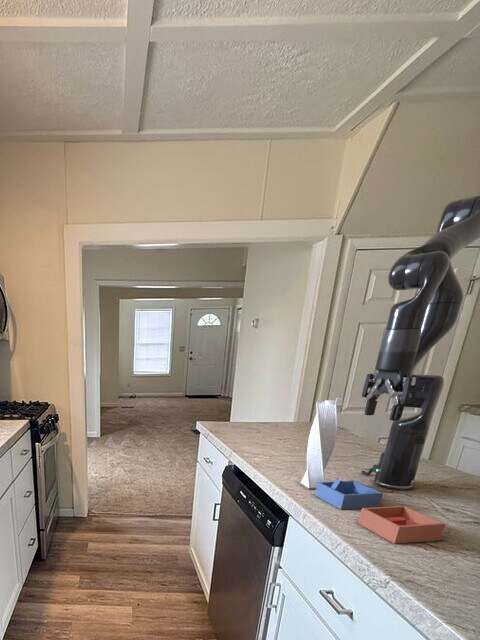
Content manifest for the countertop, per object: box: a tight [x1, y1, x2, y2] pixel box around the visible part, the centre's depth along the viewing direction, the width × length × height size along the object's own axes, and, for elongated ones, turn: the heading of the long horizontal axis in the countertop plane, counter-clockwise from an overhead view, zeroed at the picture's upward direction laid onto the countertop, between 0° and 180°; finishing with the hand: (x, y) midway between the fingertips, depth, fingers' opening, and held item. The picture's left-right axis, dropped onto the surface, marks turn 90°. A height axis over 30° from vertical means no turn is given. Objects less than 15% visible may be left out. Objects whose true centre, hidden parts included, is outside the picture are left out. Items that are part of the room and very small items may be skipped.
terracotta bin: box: [357, 505, 447, 544], centre depth 95 cm, size 11×11×4 cm
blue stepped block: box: [331, 478, 360, 494], centre depth 113 cm, size 9×4×3 cm, turn 97°
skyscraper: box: [298, 395, 343, 490], centre depth 122 cm, size 8×8×28 cm
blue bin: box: [314, 480, 384, 510], centre depth 114 cm, size 11×11×4 cm
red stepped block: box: [385, 517, 417, 526], centre depth 95 cm, size 9×4×3 cm, turn 97°
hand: (381, 417), depth 103 cm, fingers open, 8 cm apart
